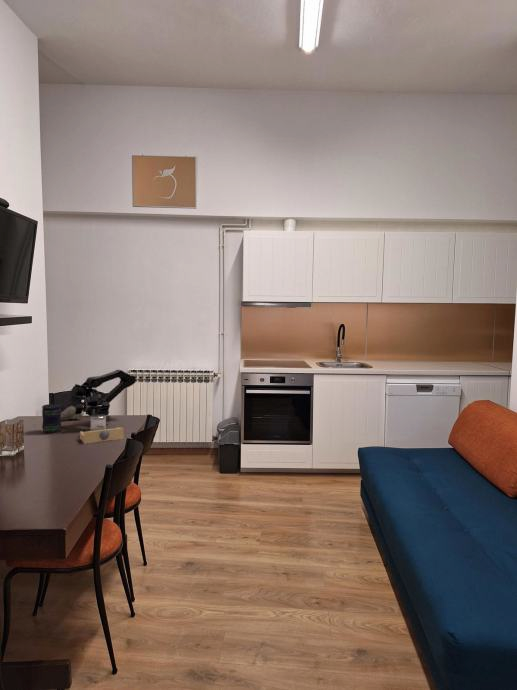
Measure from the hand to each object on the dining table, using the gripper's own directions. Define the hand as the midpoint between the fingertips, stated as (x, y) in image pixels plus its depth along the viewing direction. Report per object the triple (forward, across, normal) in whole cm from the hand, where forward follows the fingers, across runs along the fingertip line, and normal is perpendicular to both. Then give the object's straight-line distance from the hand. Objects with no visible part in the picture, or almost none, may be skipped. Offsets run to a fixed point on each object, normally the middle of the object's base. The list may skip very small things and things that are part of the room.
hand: (94, 420), depth 273 cm
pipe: (-22, -8, +32) cm, 40 cm away
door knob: (+10, 0, -1) cm, 10 cm away
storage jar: (-3, -21, +13) cm, 25 cm away
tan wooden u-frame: (+16, 0, -7) cm, 18 cm away
